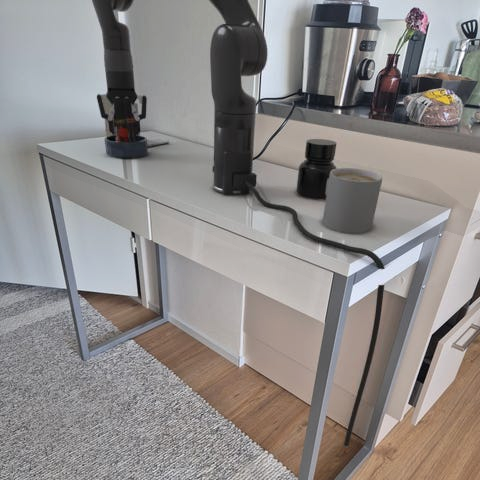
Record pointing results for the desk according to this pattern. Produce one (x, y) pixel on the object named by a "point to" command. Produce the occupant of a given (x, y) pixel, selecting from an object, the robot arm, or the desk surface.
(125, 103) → the deodorant
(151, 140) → the laptop
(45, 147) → the desk surface
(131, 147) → the bowl
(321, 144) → the ink bottle
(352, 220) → the coffee mug
